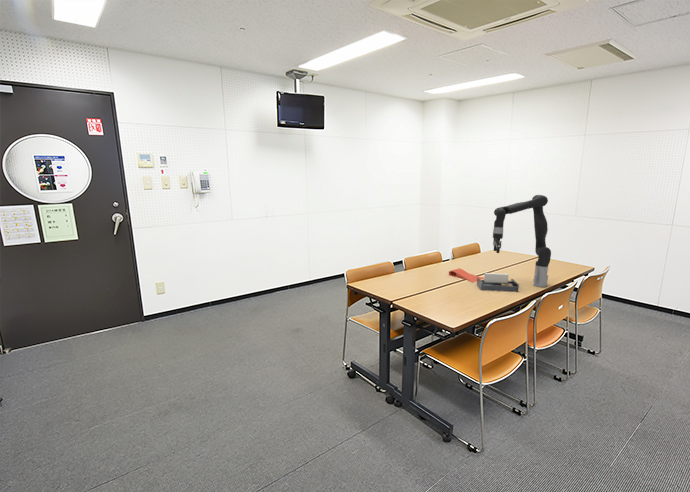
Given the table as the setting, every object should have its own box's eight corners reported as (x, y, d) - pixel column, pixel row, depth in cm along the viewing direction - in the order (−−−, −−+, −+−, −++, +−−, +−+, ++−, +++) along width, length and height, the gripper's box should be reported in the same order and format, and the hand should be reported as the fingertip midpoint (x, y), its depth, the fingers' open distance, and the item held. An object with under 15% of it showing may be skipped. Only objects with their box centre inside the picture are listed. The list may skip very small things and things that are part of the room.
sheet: (444, 276, 317) (459, 271, 332) (474, 287, 295) (488, 282, 310) (445, 270, 315) (460, 266, 330) (475, 281, 293) (489, 276, 309)
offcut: (511, 286, 280) (511, 284, 280) (512, 288, 276) (513, 285, 276) (500, 285, 282) (500, 283, 281) (502, 287, 277) (502, 285, 277)
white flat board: (506, 286, 287) (507, 273, 284) (507, 287, 284) (508, 274, 282) (483, 285, 289) (484, 272, 287) (484, 286, 287) (485, 273, 285)
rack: (511, 285, 288) (512, 278, 287) (518, 291, 273) (518, 284, 272) (476, 284, 292) (477, 277, 291) (481, 290, 277) (481, 282, 276)
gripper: (505, 234, 276) (503, 253, 280) (500, 231, 290) (498, 250, 293) (495, 233, 278) (493, 253, 281) (491, 231, 291) (489, 250, 294)
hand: (496, 251), depth 287 cm, fingers open, 8 cm apart
